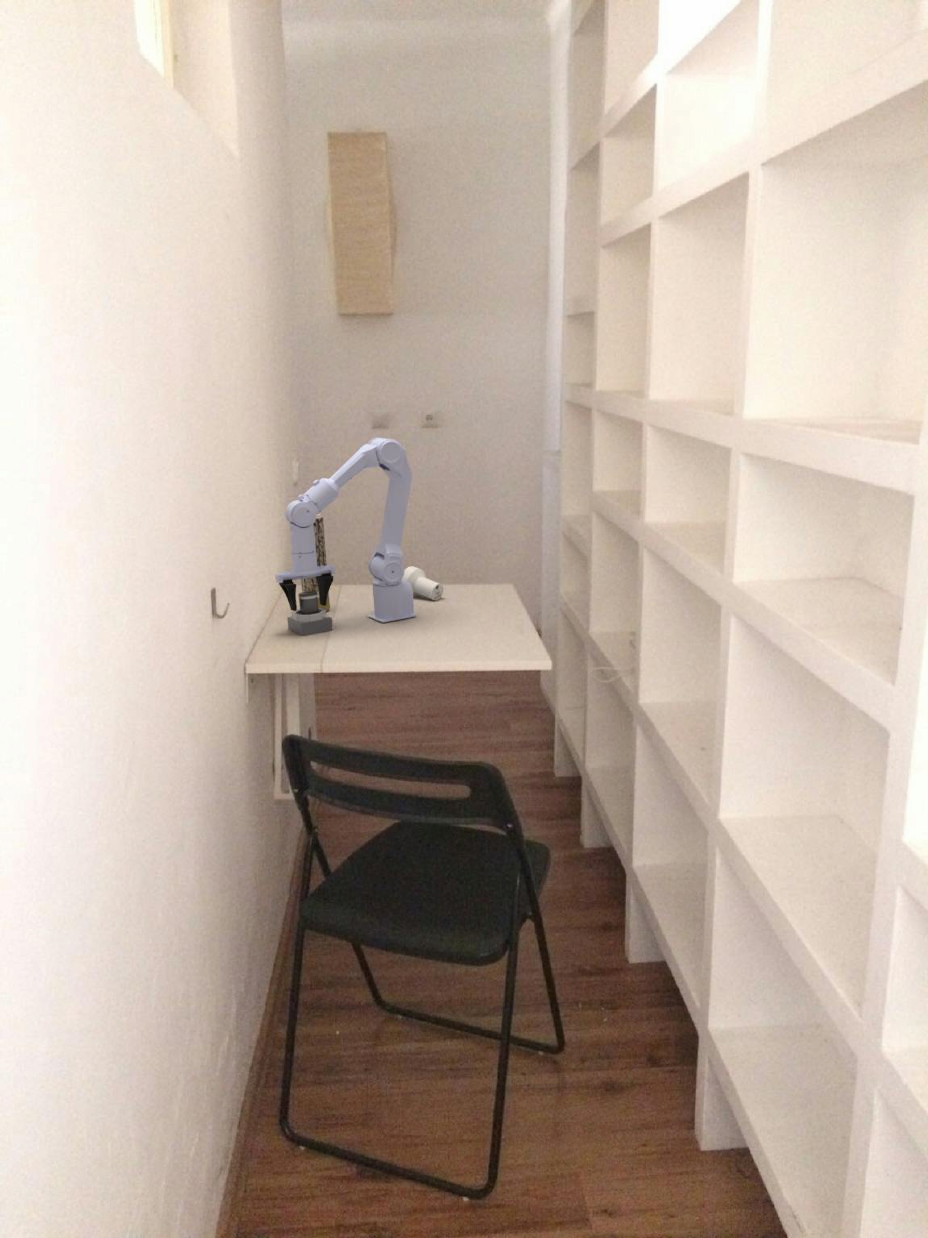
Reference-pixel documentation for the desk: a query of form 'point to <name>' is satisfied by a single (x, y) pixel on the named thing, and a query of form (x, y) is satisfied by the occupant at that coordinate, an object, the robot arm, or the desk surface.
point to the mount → (309, 622)
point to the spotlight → (422, 583)
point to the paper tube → (311, 582)
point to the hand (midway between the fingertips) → (308, 607)
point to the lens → (308, 603)
